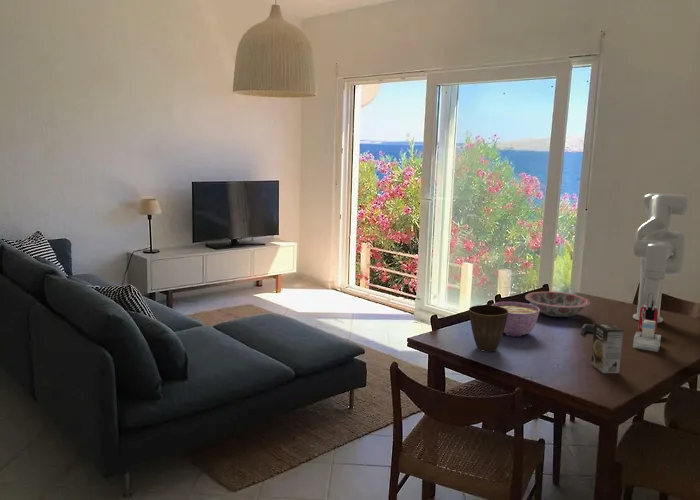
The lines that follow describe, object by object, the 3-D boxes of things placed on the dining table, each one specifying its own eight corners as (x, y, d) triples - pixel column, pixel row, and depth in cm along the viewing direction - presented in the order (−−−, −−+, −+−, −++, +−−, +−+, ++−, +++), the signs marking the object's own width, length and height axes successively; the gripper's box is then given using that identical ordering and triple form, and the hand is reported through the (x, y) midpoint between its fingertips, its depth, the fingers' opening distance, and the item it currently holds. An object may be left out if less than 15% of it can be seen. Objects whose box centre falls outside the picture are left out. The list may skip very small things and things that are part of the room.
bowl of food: (548, 336, 250) (550, 310, 248) (514, 344, 240) (516, 316, 238) (512, 324, 267) (514, 299, 265) (480, 330, 256) (481, 305, 254)
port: (635, 341, 245) (636, 331, 244) (659, 345, 240) (661, 335, 239) (632, 347, 237) (633, 337, 236) (657, 352, 232) (658, 341, 232)
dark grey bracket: (584, 330, 259) (584, 323, 259) (601, 333, 255) (601, 326, 255) (581, 334, 253) (581, 327, 253) (598, 337, 250) (599, 330, 249)
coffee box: (590, 364, 218) (593, 322, 215) (606, 364, 219) (610, 322, 216) (602, 373, 209) (606, 329, 206) (619, 373, 210) (624, 329, 207)
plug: (641, 343, 241) (644, 319, 240) (653, 345, 239) (655, 321, 238) (640, 345, 238) (643, 321, 236) (651, 347, 236) (654, 323, 234)
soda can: (657, 335, 253) (660, 308, 251) (640, 334, 255) (643, 307, 252) (653, 330, 260) (655, 304, 258) (635, 329, 261) (638, 303, 259)
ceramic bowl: (515, 316, 280) (516, 300, 278) (535, 303, 303) (536, 288, 302) (579, 327, 263) (581, 310, 262) (594, 313, 287) (596, 297, 285)
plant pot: (486, 358, 223) (488, 317, 220) (459, 346, 235) (461, 307, 233) (514, 351, 231) (516, 311, 228) (486, 340, 243) (488, 303, 240)
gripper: (645, 269, 242) (641, 312, 245) (641, 276, 229) (636, 322, 233) (666, 272, 238) (661, 315, 241) (662, 279, 226) (657, 325, 229)
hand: (649, 318), depth 237 cm, fingers closed
